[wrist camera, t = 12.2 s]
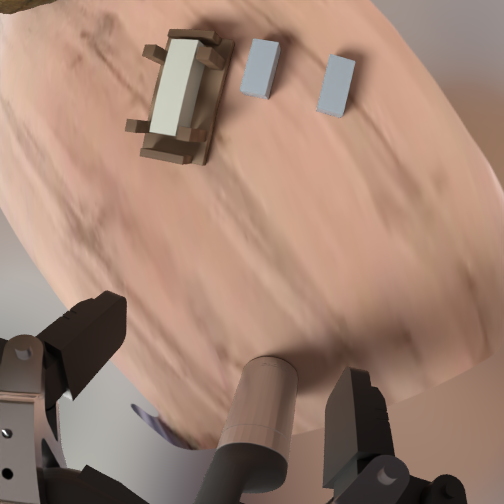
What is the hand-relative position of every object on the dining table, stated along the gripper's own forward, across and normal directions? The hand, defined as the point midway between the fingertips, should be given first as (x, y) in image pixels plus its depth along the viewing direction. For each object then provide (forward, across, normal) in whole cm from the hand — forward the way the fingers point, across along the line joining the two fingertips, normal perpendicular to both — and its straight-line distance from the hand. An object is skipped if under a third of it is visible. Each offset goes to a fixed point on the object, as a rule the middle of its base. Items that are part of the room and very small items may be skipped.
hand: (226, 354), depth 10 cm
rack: (+30, +16, -10) cm, 36 cm away
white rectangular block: (+29, +16, -11) cm, 35 cm away
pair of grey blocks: (+30, +2, -16) cm, 34 cm away
